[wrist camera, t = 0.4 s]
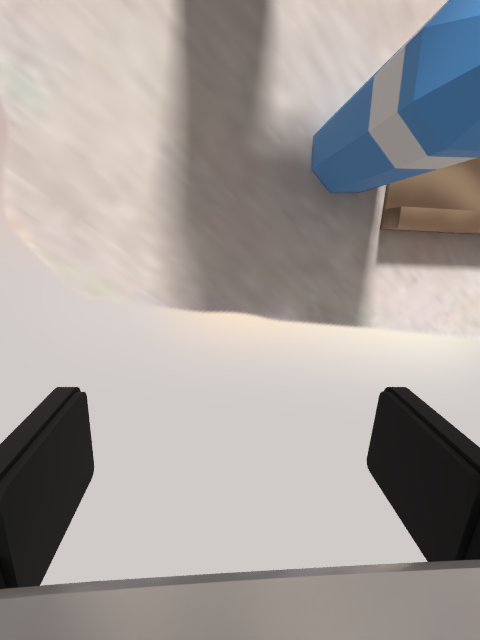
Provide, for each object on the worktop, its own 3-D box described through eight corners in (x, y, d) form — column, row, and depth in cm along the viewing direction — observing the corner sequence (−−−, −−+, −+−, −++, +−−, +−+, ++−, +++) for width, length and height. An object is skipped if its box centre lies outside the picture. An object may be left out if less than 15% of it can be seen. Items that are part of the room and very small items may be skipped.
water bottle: (393, 177, 38) (704, 78, 14) (323, 207, 38) (510, 160, 14) (374, 96, 35) (716, -201, 11) (298, 128, 36) (478, -95, 12)
